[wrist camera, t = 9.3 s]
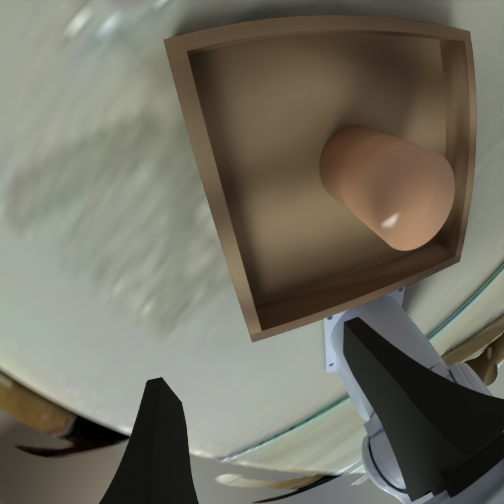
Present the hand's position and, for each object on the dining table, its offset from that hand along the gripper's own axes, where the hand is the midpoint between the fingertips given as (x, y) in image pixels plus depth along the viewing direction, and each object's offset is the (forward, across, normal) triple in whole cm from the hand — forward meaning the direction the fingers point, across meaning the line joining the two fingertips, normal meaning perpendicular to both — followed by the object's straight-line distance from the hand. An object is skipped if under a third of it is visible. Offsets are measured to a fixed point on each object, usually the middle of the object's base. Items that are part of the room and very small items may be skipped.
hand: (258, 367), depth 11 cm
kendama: (+9, -38, +37) cm, 53 cm away
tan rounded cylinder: (+9, -9, -3) cm, 13 cm away
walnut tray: (+9, -9, -3) cm, 13 cm away
